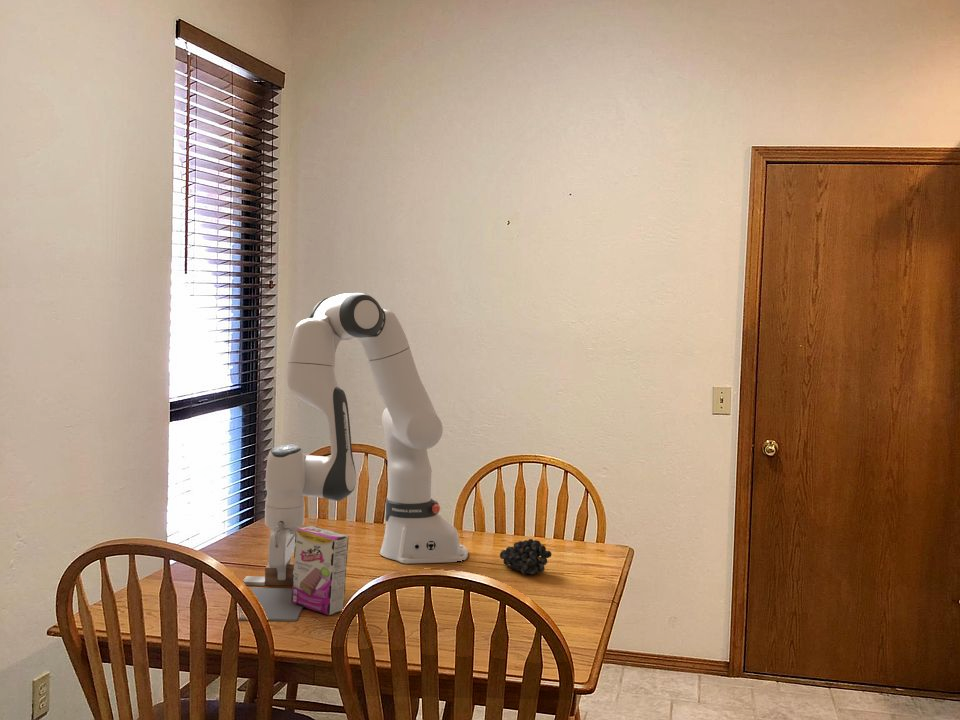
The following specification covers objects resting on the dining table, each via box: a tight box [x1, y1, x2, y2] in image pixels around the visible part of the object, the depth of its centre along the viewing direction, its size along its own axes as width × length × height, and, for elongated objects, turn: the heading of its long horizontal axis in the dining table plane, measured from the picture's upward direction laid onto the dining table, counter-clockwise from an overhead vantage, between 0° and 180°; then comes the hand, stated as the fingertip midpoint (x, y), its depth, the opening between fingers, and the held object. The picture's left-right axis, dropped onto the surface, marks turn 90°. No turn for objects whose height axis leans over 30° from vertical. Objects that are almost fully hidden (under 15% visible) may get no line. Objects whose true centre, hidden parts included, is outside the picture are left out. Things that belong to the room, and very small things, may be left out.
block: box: [242, 563, 294, 587], centre depth 225 cm, size 13×4×4 cm, turn 91°
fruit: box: [499, 538, 552, 576], centre depth 242 cm, size 9×8×15 cm
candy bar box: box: [291, 525, 349, 616], centre depth 208 cm, size 11×5×16 cm, turn 57°
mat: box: [238, 587, 304, 622], centre depth 211 cm, size 14×20×1 cm
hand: (283, 576), depth 225 cm, fingers closed on block, 3 cm apart
